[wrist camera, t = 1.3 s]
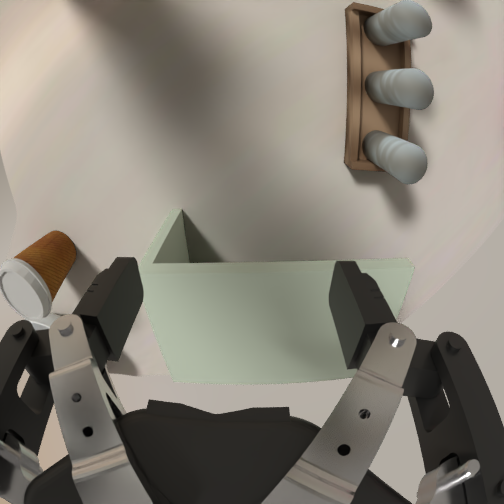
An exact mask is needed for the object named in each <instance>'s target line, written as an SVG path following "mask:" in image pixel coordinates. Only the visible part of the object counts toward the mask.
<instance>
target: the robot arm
mask: <svg viewBox="0 0 504 504" xmlns="http://www.w3.org/2000/svg"><path fill="white" fill-rule="evenodd" d="M143 297H144V290H143V285H142V281H141V277H140V273H139V269H138V264H137V261H136V259H135V258H134V257H117V258H116V259H115V260H114V262H113V263H112V265H111V266H110V268H109V269H105V270H104V271H102V272H101V273H100V274H99V275H97V277H96V278H95V280H94V281H93V283H92V285H90V287H89V288H88V290H87V292H86V293H85V294H84V296H83V298H82V299H81V301H80V302H79V304H78V305H77V307H76V308H75V310H74V312H73V313H72V314H67V315H63V316H61V317H59V318H58V319H56V320H55V321H54V322H53V323H52V325H51V326H50V329H43V330H35V329H34V327H33V325H32V324H31V322H30V321H28V320H21V321H18V322H16V323H14V324H13V325H12V326H11V327H10V328H9V329H8V330H7V332H6V334H5V335H4V337H3V339H2V340H1V342H0V497H1V498H3V499H5V500H6V501H8V502H10V503H11V504H412V503H411V502H410V501H408V500H407V499H405V498H404V497H403V496H401V495H400V494H399V493H397V492H396V491H395V490H394V489H392V488H391V487H390V486H389V485H387V484H386V483H385V482H384V481H382V480H381V479H380V478H379V477H377V476H376V475H375V474H374V473H372V472H371V471H370V470H369V469H368V468H369V467H370V465H371V463H372V461H373V459H374V457H375V455H376V453H377V452H378V450H379V447H380V445H381V444H382V442H383V439H384V437H385V435H386V433H387V431H388V428H389V427H390V424H391V422H392V419H393V418H394V415H395V413H396V410H397V408H398V406H399V403H400V400H401V398H402V395H403V396H408V400H409V403H410V407H411V411H412V414H413V418H414V422H415V426H416V430H417V434H418V438H419V443H420V447H421V452H422V457H423V461H424V467H425V471H426V475H425V476H424V477H423V478H422V480H421V481H420V484H419V488H418V492H417V498H418V499H417V502H416V504H504V427H503V424H502V421H501V418H500V415H499V413H498V410H497V407H496V405H495V402H494V400H493V398H492V395H491V393H490V390H489V388H488V386H487V384H486V381H485V379H484V377H483V375H482V372H481V370H480V368H479V366H478V364H477V362H476V360H475V358H474V356H473V354H472V352H471V350H470V348H469V346H468V344H467V342H466V341H465V340H464V339H463V338H462V337H461V336H460V335H458V334H456V333H453V332H443V333H441V334H440V335H439V336H438V338H437V340H436V342H433V341H428V340H421V339H416V336H415V334H414V333H413V331H412V330H411V329H409V328H408V327H407V326H405V325H403V324H400V323H397V321H396V319H395V317H394V315H393V313H392V311H391V309H390V307H389V305H388V303H387V301H386V299H385V298H384V295H383V294H382V292H381V291H380V288H379V286H378V284H377V282H376V281H375V280H374V279H373V278H372V277H371V276H370V275H368V274H367V273H361V271H360V269H359V267H358V265H357V263H356V262H355V261H336V263H335V266H334V270H333V275H332V280H331V285H330V290H329V307H330V310H331V314H332V317H333V320H334V324H335V327H336V331H337V334H338V338H339V341H340V345H341V349H342V352H343V356H344V360H345V363H346V367H347V370H348V369H357V372H356V373H355V375H354V377H353V379H352V380H351V382H350V384H349V386H348V387H347V389H346V391H345V392H344V394H343V396H342V397H341V399H340V401H339V402H338V404H337V405H336V407H335V409H334V410H333V412H332V413H331V415H330V416H329V418H328V419H327V421H326V422H325V424H324V425H323V427H322V428H320V427H318V426H317V425H315V424H313V423H311V422H308V421H306V420H304V419H300V418H297V417H292V416H290V413H289V407H273V408H272V407H270V408H249V409H244V410H240V411H234V412H228V413H223V414H212V413H209V412H206V411H202V410H199V409H196V408H193V407H190V406H186V405H184V404H180V403H172V402H163V401H156V400H149V402H148V405H147V409H140V410H135V411H132V412H129V413H126V411H125V409H124V408H123V406H122V404H121V402H120V399H119V397H118V395H117V392H116V390H115V388H114V386H113V383H112V380H111V378H110V375H109V373H108V370H107V368H106V366H105V365H106V362H107V360H112V361H118V360H119V358H120V355H121V352H122V350H123V347H124V345H125V342H126V340H127V337H128V335H129V333H130V330H131V328H132V325H133V323H134V321H135V318H136V316H137V314H138V311H139V309H140V307H141V304H142V302H143ZM24 369H26V370H27V372H28V373H29V374H30V376H29V378H28V381H27V383H26V386H25V388H24V390H23V392H22V395H21V397H20V398H19V396H18V393H17V384H18V382H19V380H20V378H21V376H22V373H23V371H24ZM443 389H444V390H445V393H446V395H447V398H448V401H449V404H450V408H449V405H448V402H447V400H446V397H445V394H444V391H443ZM53 404H55V409H56V413H57V417H58V420H59V424H60V427H61V431H62V434H63V438H64V441H65V444H66V448H67V451H68V453H69V454H68V455H67V456H65V457H64V458H62V459H61V460H60V461H58V462H57V463H55V464H54V465H53V466H51V467H50V468H48V469H47V470H45V471H44V472H43V470H42V468H41V467H40V466H39V460H38V458H37V456H38V452H39V449H40V445H41V441H42V438H43V434H44V431H45V428H46V425H47V422H48V418H49V416H50V413H51V410H52V407H53Z"/></svg>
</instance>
